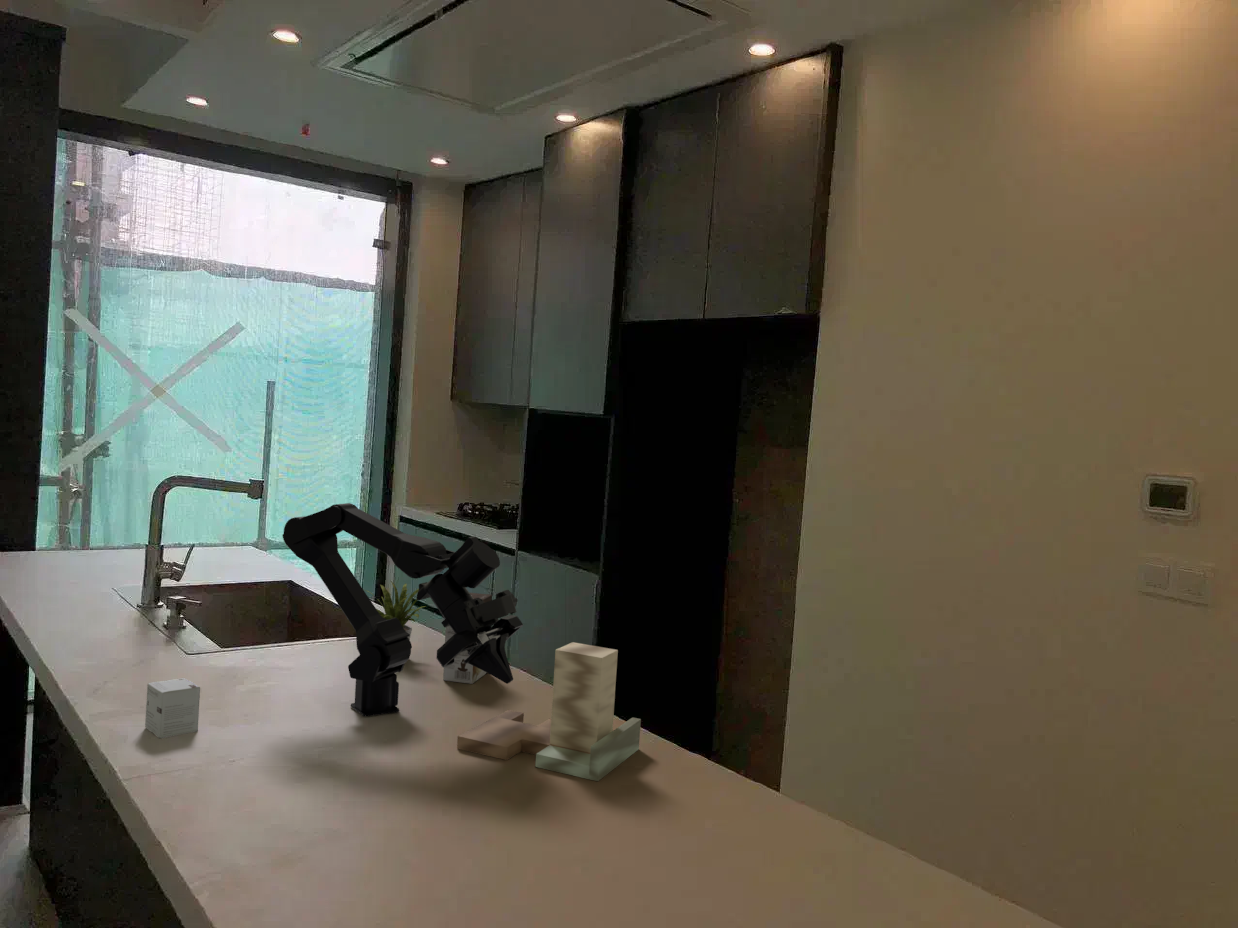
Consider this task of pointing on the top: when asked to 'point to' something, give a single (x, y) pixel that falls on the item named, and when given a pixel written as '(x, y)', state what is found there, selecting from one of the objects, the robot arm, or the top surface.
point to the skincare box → (172, 707)
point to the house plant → (399, 607)
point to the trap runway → (515, 736)
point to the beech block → (583, 695)
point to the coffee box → (463, 658)
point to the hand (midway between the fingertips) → (510, 681)
